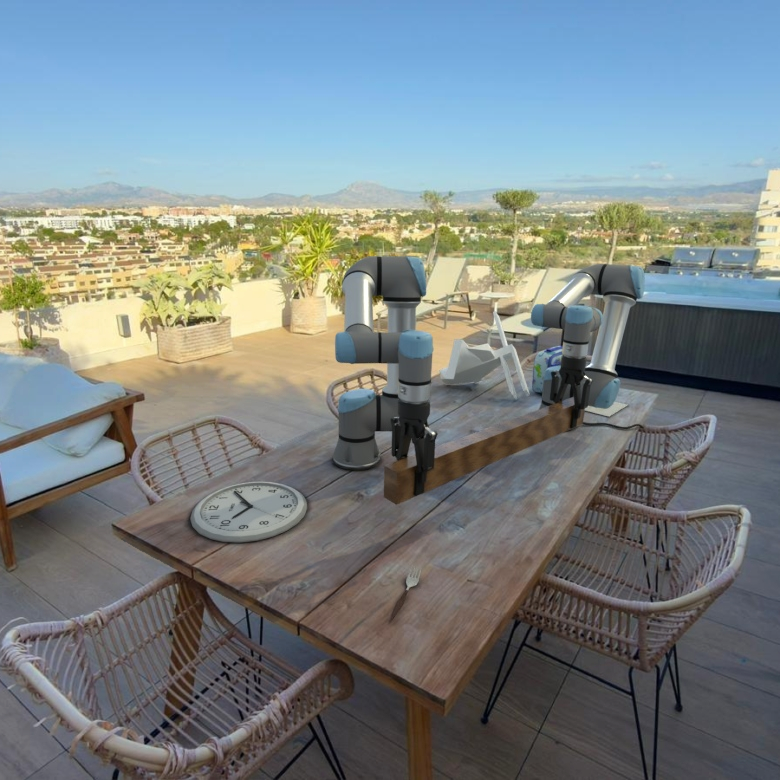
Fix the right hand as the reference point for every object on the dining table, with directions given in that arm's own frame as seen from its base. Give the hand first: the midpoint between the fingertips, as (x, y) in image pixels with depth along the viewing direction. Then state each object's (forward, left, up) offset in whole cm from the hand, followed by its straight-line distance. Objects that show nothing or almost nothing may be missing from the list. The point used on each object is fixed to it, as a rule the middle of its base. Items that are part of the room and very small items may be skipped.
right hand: (565, 424), depth 171 cm
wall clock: (+90, +47, -12) cm, 102 cm away
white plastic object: (+24, -69, -12) cm, 75 cm away
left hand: (+47, +51, 0) cm, 69 cm away
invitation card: (-28, -58, -12) cm, 65 cm away
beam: (+23, +26, -1) cm, 35 cm away
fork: (+46, +75, -12) cm, 89 cm away
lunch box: (-10, -78, -12) cm, 79 cm away
